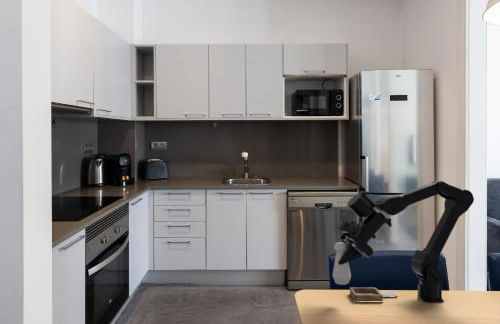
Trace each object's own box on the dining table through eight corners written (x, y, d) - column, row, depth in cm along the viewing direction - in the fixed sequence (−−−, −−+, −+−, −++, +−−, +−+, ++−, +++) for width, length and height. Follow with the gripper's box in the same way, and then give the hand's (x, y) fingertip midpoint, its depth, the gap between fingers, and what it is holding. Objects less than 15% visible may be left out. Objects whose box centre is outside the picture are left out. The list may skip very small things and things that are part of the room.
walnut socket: (376, 294, 147) (375, 287, 147) (382, 302, 138) (382, 295, 138) (349, 294, 148) (349, 287, 148) (354, 302, 139) (354, 295, 139)
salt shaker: (352, 285, 134) (351, 244, 135) (334, 285, 135) (333, 244, 135) (348, 280, 140) (347, 241, 140) (331, 280, 140) (330, 241, 141)
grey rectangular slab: (391, 293, 148) (391, 291, 148) (397, 297, 143) (397, 295, 143) (372, 293, 148) (372, 291, 148) (376, 297, 143) (376, 296, 143)
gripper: (342, 207, 148) (312, 241, 146) (362, 213, 129) (327, 251, 128) (365, 229, 148) (335, 262, 147) (388, 238, 130) (353, 276, 128)
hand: (337, 262), depth 137 cm, fingers closed on salt shaker, 3 cm apart
